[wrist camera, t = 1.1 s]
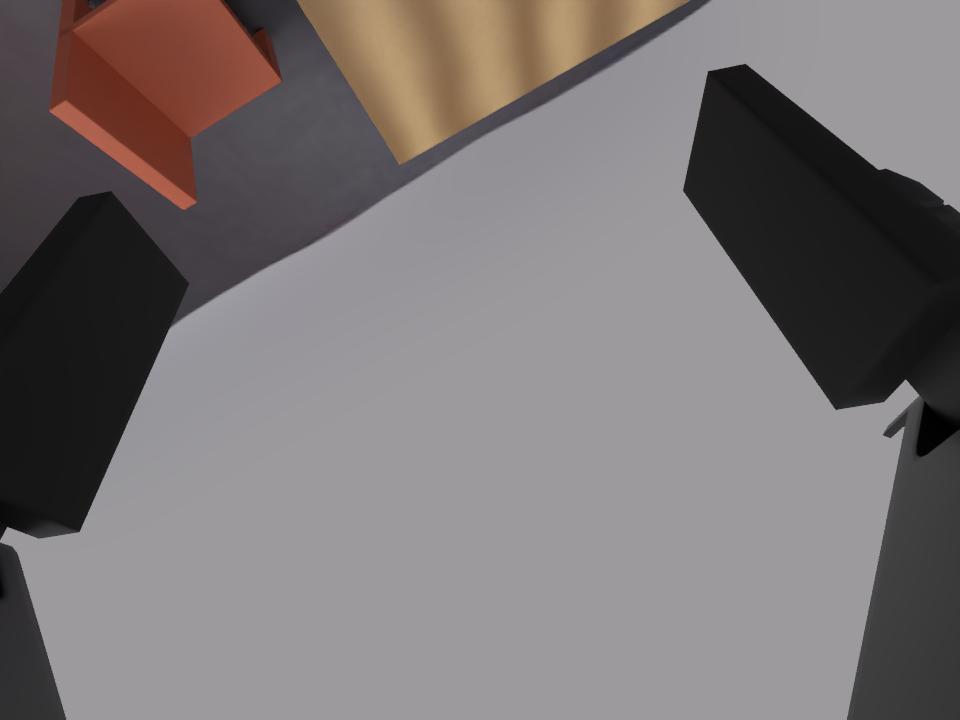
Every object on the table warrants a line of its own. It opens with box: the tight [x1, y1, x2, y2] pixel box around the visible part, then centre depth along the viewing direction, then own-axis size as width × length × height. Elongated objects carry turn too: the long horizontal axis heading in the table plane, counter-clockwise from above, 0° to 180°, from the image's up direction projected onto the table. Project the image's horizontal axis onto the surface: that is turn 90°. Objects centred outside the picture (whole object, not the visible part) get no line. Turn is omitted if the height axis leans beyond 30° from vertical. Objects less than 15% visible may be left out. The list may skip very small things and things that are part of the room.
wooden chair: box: [49, 0, 282, 210], centre depth 26 cm, size 8×7×11 cm
